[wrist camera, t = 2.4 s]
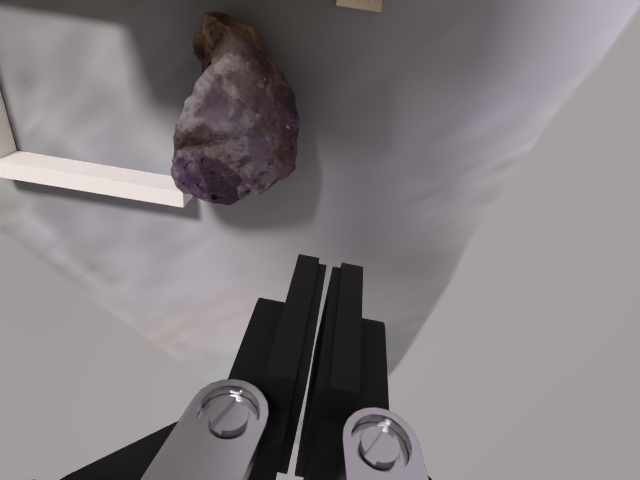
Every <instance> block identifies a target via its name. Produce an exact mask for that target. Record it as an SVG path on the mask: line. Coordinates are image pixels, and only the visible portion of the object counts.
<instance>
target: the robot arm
mask: <svg viewBox="0 0 640 480" xmlns="http://www.w3.org/2000/svg"><path fill="white" fill-rule="evenodd" d="M318 263H319V258H316V257H311V256H306V255H301V254H299V256H298V260H297V263H296V267H295V270H294V274H293V277H292V281H291V284H290V288H289V291H288V295H287V299H286V302H285V303H284V302H279V301H274V300H269V299H264V298H259V299H258V301H257V303H256V306H255V309H254V311H253V314H252V317H251V319H250V322H249V324H248V327H247V330H246V332H245V335H244V338H243V340H242V343H241V346H240V348H239V351H238V354H237V356H236V359H235V361H234V364H233V367H232V369H231V372H230V375H229V377H228V379H227V380H220V381H217V382H214V383H211V384H209V385H208V386H206V387H204V388H203V389H201V390H200V391H199V393H198V394H197V395H196V396H195V397H194V398H193V400H192V401H191V403H190V404H189V406H188V407H187V409H186V410H185V412H184V413H183V415H182V416H181V418H180V420H179V421H177V422H175V423H173V424H171V425H169V426H167V427H165V428H163V429H161V430H159V431H157V432H155V433H153V434H150V435H148V436H146V437H144V438H142V439H140V440H138V441H136V442H134V443H132V444H130V445H128V446H126V447H124V448H122V449H120V450H118V451H116V452H114V453H112V454H110V455H108V456H105V457H103V458H101V459H99V460H97V461H95V462H93V463H91V464H89V465H87V466H85V467H83V468H81V469H79V470H77V471H75V472H73V473H71V474H69V475H67V476H65V477H63V478H62V479H60V480H276V475H277V472H280V473H284V474H287V471H288V467H289V462H290V458H291V454H292V449H293V445H294V440H295V435H296V431H297V426H298V422H299V417H300V413H301V408H302V404H303V399H304V395H305V390H306V385H307V380H308V375H309V369H310V363H311V357H312V351H313V345H314V339H315V332H316V326H317V320H318V314H319V308H320V302H321V296H322V290H323V284H324V278H325V272H326V265H323V264H318ZM362 288H363V267H361V266H356V265H351V264H346V263H342V265H341V268H338V267H333V268H332V273H331V277H330V282H329V286H328V291H327V295H326V300H325V304H324V309H323V313H322V318H321V322H320V327H319V331H318V336H317V340H316V345H315V351H314V356H313V363H312V369H311V375H310V381H309V388H308V394H307V400H306V407H305V413H304V419H303V426H302V432H301V438H300V444H299V451H298V457H297V463H296V470H295V476H300V477H304V479H303V480H432V479H431V478H430V477H429V476H428V475H427V471H426V468H425V464H424V460H423V456H422V453H421V449H420V445H419V442H418V440H417V437H416V435H415V433H414V431H413V430H412V429H411V427H410V426H409V425H408V424H407V423H406V422H405V421H404V420H403V419H402V418H400V417H399V416H398V415H396V414H394V413H392V412H390V411H389V401H388V379H387V359H386V338H385V324H384V323H383V322H379V321H374V320H369V319H364V318H362ZM34 480H36V479H34Z"/></svg>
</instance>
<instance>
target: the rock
mask: <svg viewBox="0 0 640 480" xmlns="http://www.w3.org/2000/svg"><path fill="white" fill-rule="evenodd" d="M193 49H194V54H195V55H196V56H197V58H198V59H199V60H200V61H201V62H202V67H203V69H202V72H203V75H202V76H201V77H200V78H199V79H198V80H197V81H196V83H195V86H194V91H193V94H192V95H191V96H189V97H188V98H187V99H186V100H185V102H184V108H183V111H182V114H181V116H180V118H179V120H178V122H177V124H176V129H175V134H174V137H173V139H174V156H173V160H172V162H173V165H172V167H171V175H172V178H173V180H174V183H175V186H176V187H177V188H178V189H179V190H180V191H181V192H182V193H184V194H191V195H193V196H195V197H197V198H199V199H202V200H204V201H208V202H212V203H219V204H225V205H231V204H233V203H235V202H236V201H237V200H240V199H244V198H246V197H247V196H249V195H250V194H257V195H259V194H261V193H263V192H264V191H265V190H268V189H269V188H270V187H271V186H272V185H273V184H274V183H276V182H277V181H278V180H281V179H284V178H286V177H287V176H288V175H290V174H291V173H292V172H293V171H294V170H295V168H296V166H295V159H296V155H297V142H296V140H297V136H298V129H299V117H298V113H297V109H296V102H295V95H294V93H293V91H292V89H291V87H290V86H289V85H288V83H287V81H286V80H285V77H284V76H283V75H282V74H283V73H282V72H281V71H280V70H279V69H278V68H277V67H276V66H275V65H274V64H272V62H271V60H270V58H269V56H268V54H267V52H266V50H265V48H264V45H263V42H262V39H261V37H260V36H259V35H258V34H257V32H256V31H255V30H254V28H253V27H252V26H251V25H250V24H249V23H248V22H247V20H246V19H234V18H232V17H230V16H229V15H227V14H224V13H220V12H211V13H205V14H204V17H203V19H202V22H201V31H200V32H197V33H196V34H195V38H194V42H193Z"/></svg>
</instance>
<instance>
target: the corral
mask: <svg viewBox="0 0 640 480" xmlns="http://www.w3.org/2000/svg"><path fill="white" fill-rule="evenodd" d="M0 177H2V178H8V179H14V180H20V181H26V182H32V183H38V184H44V185H50V186H56V187H62V188H68V189H74V190H80V191H86V192H92V193H98V194H104V195H110V196H116V197H122V198H128V199H134V200H140V201H146V202H152V203H158V204H164V205H170V206H176V207H182V208H184V207H185V205H186V204H187V203H188V202H189V201H190V199H191V198H192V197H193V195H191V194H184V193H182V192H181V191H180V190H179V189H178V188H177V187H176V186H175V183H174V180H173V178H172V176H167V175H161V174H155V173H149V172H143V171H137V170H131V169H125V168H119V167H113V166H107V165H101V164H95V163H89V162H83V161H77V160H71V159H65V158H59V157H53V156H47V155H41V154H35V153H29V152H22V151H17V149H16V146H15V142H14V138H13V135H12V131H11V128H10V124H9V120H8V117H7V113H6V109H5V106H4V102H3V98H2V95H1V91H0Z"/></svg>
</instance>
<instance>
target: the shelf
mask: <svg viewBox="0 0 640 480" xmlns="http://www.w3.org/2000/svg"><path fill="white" fill-rule="evenodd" d="M382 3H383V0H337V2H336V5H337V6H343V7H349V8H356V9H362V10H368V11H375V12H381V8H382Z"/></svg>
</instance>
